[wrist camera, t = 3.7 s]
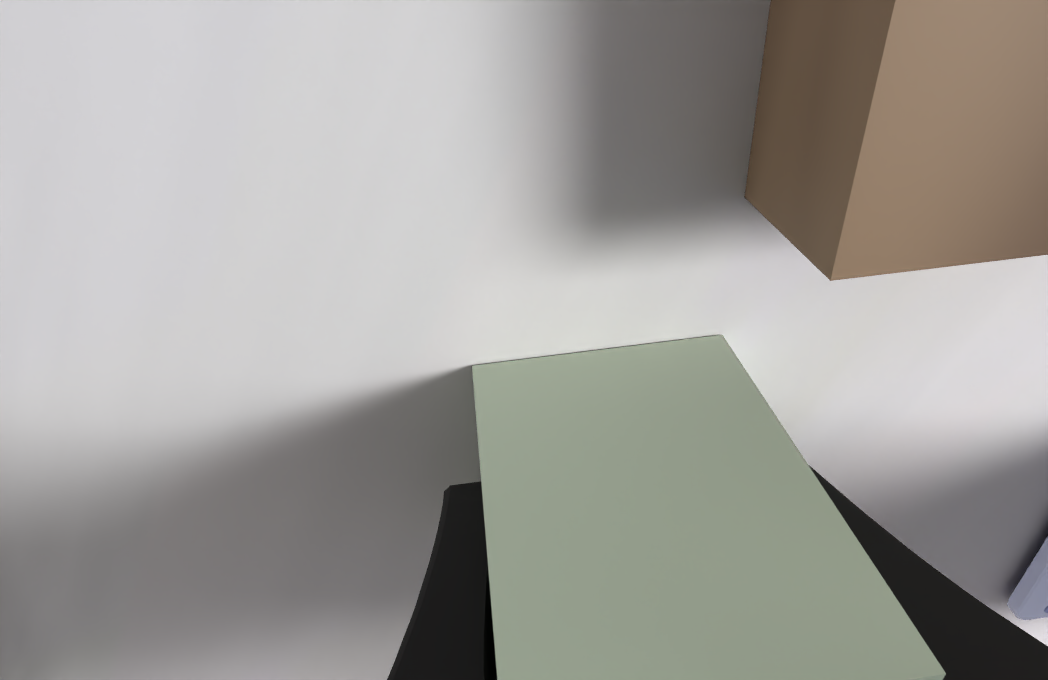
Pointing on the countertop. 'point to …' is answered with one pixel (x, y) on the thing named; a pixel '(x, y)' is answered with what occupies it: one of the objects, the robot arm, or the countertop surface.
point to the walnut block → (903, 132)
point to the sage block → (669, 529)
